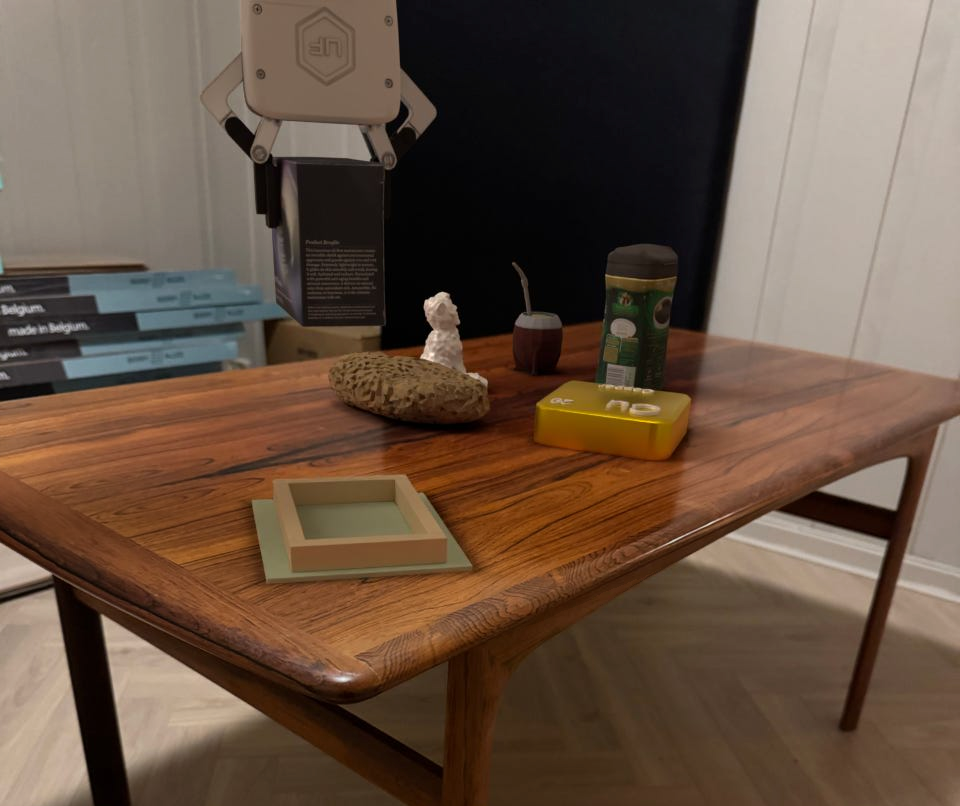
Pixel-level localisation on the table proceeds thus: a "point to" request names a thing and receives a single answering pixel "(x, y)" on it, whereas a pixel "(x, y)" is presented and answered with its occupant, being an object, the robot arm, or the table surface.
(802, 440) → the table surface
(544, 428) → the element tile
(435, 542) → the tan shallow square tray
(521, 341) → the mate gourd
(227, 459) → the table surface
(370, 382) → the sponge
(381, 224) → the small box
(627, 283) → the coffee jar
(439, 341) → the white creature statuette
